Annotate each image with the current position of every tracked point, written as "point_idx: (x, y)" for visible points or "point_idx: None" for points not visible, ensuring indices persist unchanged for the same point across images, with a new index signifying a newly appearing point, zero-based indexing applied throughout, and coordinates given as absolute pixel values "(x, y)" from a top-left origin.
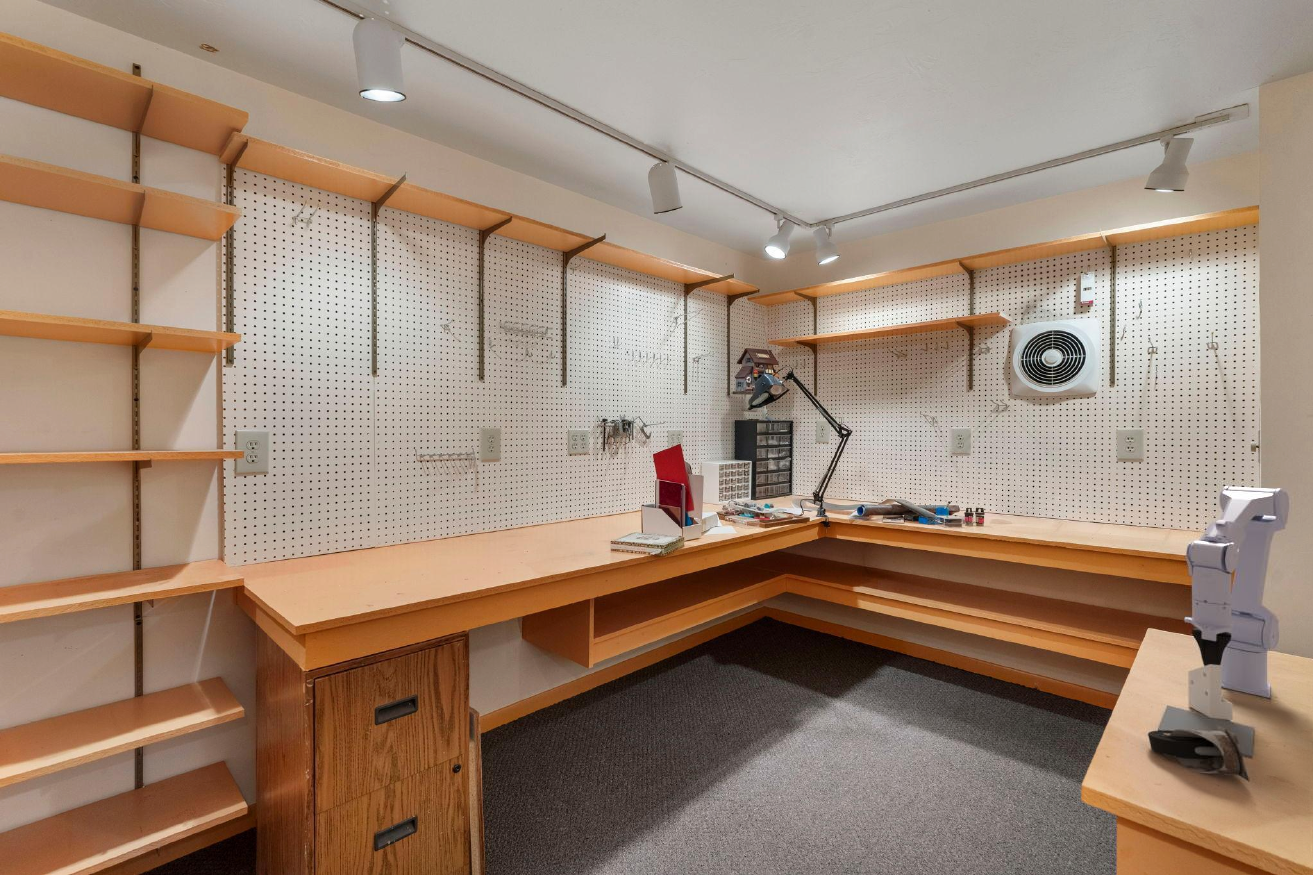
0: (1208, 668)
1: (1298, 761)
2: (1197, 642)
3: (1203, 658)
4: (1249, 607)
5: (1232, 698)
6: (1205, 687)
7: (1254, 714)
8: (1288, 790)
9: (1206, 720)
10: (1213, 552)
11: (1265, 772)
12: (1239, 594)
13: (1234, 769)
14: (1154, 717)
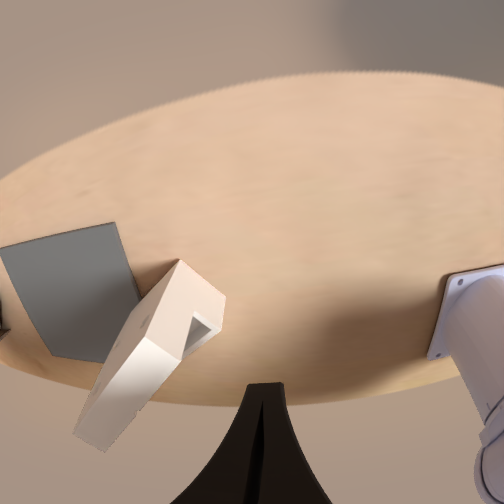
0: (81, 417)
1: None
2: (185, 490)
3: (235, 417)
4: None
5: (374, 317)
6: (110, 357)
7: (280, 361)
8: (30, 368)
9: (108, 306)
10: None
11: (39, 358)
12: None
13: None
14: (36, 223)
